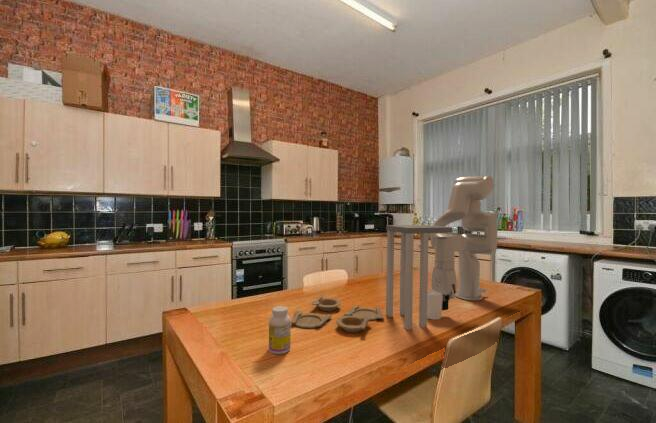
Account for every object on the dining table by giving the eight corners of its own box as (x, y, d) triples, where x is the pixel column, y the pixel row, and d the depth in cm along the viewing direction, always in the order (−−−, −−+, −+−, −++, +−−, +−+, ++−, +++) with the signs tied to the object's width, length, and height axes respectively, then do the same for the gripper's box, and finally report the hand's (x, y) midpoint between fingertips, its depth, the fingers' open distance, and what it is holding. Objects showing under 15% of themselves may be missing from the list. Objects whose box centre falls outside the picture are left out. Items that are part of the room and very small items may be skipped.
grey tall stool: (425, 310, 128) (427, 224, 127) (450, 323, 114) (452, 227, 113) (384, 315, 121) (386, 225, 121) (406, 330, 107) (407, 228, 107)
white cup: (440, 314, 124) (441, 290, 124) (444, 321, 116) (444, 295, 116) (421, 312, 125) (421, 289, 125) (423, 319, 118) (423, 294, 118)
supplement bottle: (269, 345, 95) (270, 305, 94) (290, 344, 95) (291, 304, 95) (267, 355, 88) (267, 312, 88) (290, 354, 88) (290, 312, 88)
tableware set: (281, 326, 111) (281, 315, 111) (312, 302, 138) (312, 293, 138) (374, 341, 99) (375, 329, 99) (388, 312, 126) (388, 303, 126)
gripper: (425, 262, 127) (424, 304, 128) (450, 269, 113) (449, 317, 114) (439, 261, 130) (438, 302, 130) (465, 268, 116) (464, 314, 116)
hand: (443, 309), depth 122 cm, fingers closed
